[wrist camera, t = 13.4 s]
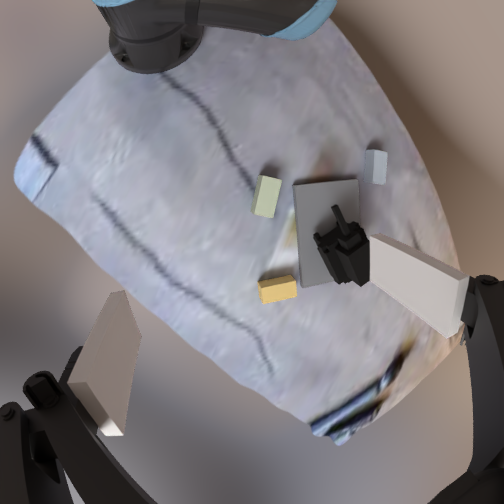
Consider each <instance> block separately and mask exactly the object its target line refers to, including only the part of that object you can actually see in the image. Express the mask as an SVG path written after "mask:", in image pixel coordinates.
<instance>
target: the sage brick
mask: <svg viewBox="0 0 504 504" xmlns="http://www.w3.org/2000/svg"><path fill="white" fill-rule="evenodd" d="M281 182H282V180H280V179H275V178H271V177H267V176H263V175H259V176H258V181H257V185H256V189H255V194H254V198H253V202H252V207H251V211H250V212H252V213H253V214H255V215H260V216H265V217H270V218H273V216H274V211H275V207H276V203H277V199H278V195H279V190H280V186H281Z"/></svg>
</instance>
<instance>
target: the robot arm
mask: <svg viewBox="0 0 504 504" xmlns="http://www.w3.org/2000/svg"><path fill="white" fill-rule="evenodd" d="M92 1H93V2H94V3H95V4H96V6H97V7H98V9H99V10H100V12H101V14H102V15H103V17H104V19H105V20H106V22H107V23H108V25H109V27H110V33H109V47H110V50H111V53H112V55H113V56H114V58H115V59H116V61H117V62H118V63H119V64H120V65H121V66H122V67H124V68H125V69H127V70H129V71H132V72H136V73H141V74H153V73H159V72H164V71H167V70H170V69H172V68H174V67H176V66H178V65H180V64H181V63H183V62H184V61H186V60H187V59H188V58H189V57H190V56H191V55H192V54H193V53H194V52H195V50H196V49H197V47H198V45H199V43H200V41H201V38H202V31H203V26H210V27H219V28H226V29H233V30H240V31H246V32H251V33H257V34H260V35H261V36H263V37H276V38H281V39H286V40H300V39H304V38H306V37H308V36H310V35H311V34H313V33H314V32H315V31H317V30H318V29H319V28H320V27H321V26H322V25H323V23H324V22H325V21H326V20H327V19H328V17H329V16H330V14H331V13H332V11H333V9H334V8H335V6H336V4H337V0H92ZM370 281H371V282H372V283H374V284H375V285H376V286H378V287H379V288H381V289H382V290H383V291H385V292H386V293H387V294H389V295H390V296H391V297H393V298H394V299H396V300H397V301H398V302H400V303H401V304H402V305H404V306H405V307H406V308H408V309H409V310H410V311H412V312H413V313H414V314H416V315H417V316H418V317H419V318H421V319H422V320H423V321H425V322H426V323H427V324H429V325H430V326H431V327H432V328H434V329H435V330H436V331H438V332H439V333H440V334H441V335H443V336H444V337H445V338H446V339H447V338H449V337H451V336H452V335H454V334H456V333H457V332H458V329H459V325H460V321H463V322H464V323H465V327H464V331H463V335H462V338H461V342H460V345H462V343H463V341H464V340H465V341H466V343H465V345H466V347H467V353H468V360H469V367H470V377H471V386H472V401H473V456H472V460H471V462H470V465H469V467H468V469H467V472H465V473H464V474H463V475H462V476H460V477H459V478H458V479H457V480H455V481H454V482H453V483H451V484H450V485H449V486H447V487H446V488H445V489H443V490H442V491H441V492H440V493H439V494H437V496H435V497H434V498H433V499H432V500H431V501H430V502H429V503H428V504H504V281H499V280H498V279H496V278H495V277H493V276H490V275H479V276H477V277H476V278H473V277H471V276H469V275H467V274H465V273H463V272H461V271H460V270H458V269H456V268H454V267H452V266H450V265H448V264H446V263H444V262H442V261H440V260H437V259H435V258H433V257H431V256H429V255H427V254H425V253H423V252H421V251H419V250H417V249H414V248H412V247H410V246H408V245H406V244H404V243H401V242H399V241H397V240H395V239H392V238H390V237H388V236H386V235H383V234H381V233H379V234H375V235H371V236H370ZM141 337H142V336H141V333H140V331H139V328H138V326H137V323H136V321H135V318H134V316H133V313H132V310H131V308H130V305H129V302H128V300H127V297H126V294H125V291H124V290H123V291H118V292H113V293H111V294H110V295H109V297H108V299H107V301H106V303H105V305H104V307H103V309H102V310H101V312H100V314H99V316H98V318H97V320H96V322H95V324H94V326H93V328H92V330H91V332H90V334H89V336H88V338H87V340H86V342H85V344H84V346H80V347H78V348H77V349H76V350H75V351H74V352H73V353H72V355H71V357H70V359H69V361H68V364H67V365H66V367H65V370H64V371H63V373H62V376H61V378H60V380H59V382H57V381H56V379H55V378H54V376H53V375H52V374H51V373H50V372H49V371H40V372H37V373H35V374H33V375H32V376H31V377H29V378H28V379H27V381H26V382H25V383H24V386H23V392H24V394H25V395H26V397H27V398H28V399H29V401H30V402H31V404H32V405H33V406H34V407H35V408H34V409H29V410H26V411H24V410H23V409H22V408H21V406H20V405H19V404H18V403H17V402H9V403H7V404H4V405H3V406H2V407H1V408H0V504H74V503H73V500H72V497H71V494H70V491H69V487H68V484H67V480H66V477H65V473H64V470H65V472H66V474H67V475H68V477H69V479H70V480H71V482H72V484H73V486H74V487H75V489H76V490H77V492H78V494H79V495H80V497H81V498H82V500H83V501H84V503H85V504H157V502H155V501H154V500H153V499H152V498H151V497H150V496H149V495H148V494H147V493H146V492H145V491H144V490H143V489H142V488H141V487H140V486H139V485H138V484H137V482H136V481H135V480H134V479H133V478H132V477H131V476H130V475H129V474H128V473H127V472H126V470H125V469H124V468H123V467H122V466H121V465H120V463H119V462H118V461H117V460H116V459H115V457H114V456H113V455H112V454H111V453H110V451H109V450H108V449H107V447H106V446H105V445H104V444H103V442H102V441H101V440H100V438H99V437H98V436H97V435H96V434H97V429H98V427H99V428H100V429H101V431H102V432H103V433H104V434H105V436H120V435H124V429H125V422H126V416H127V409H128V403H129V397H130V391H131V386H132V380H133V375H134V370H135V364H136V360H137V355H138V350H139V346H140V341H141ZM63 468H64V469H63Z"/></svg>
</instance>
